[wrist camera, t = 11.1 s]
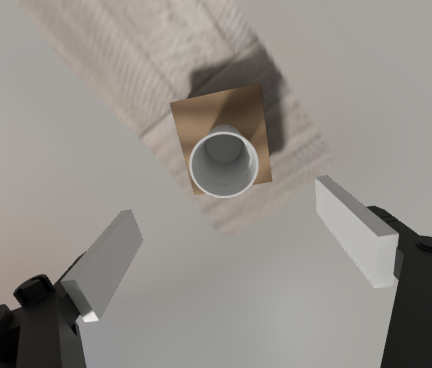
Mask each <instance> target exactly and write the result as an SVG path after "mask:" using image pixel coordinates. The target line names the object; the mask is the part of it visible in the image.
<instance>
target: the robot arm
mask: <svg viewBox="0 0 432 368" xmlns="http://www.w3.org/2000/svg"><path fill="white" fill-rule="evenodd" d="M315 184H316V204H317V214H318V215H319V216H320V218H321V219H322V220H323V222H324V223H325V224H326V226H327V227H328V228H329V230H330V231H331V232H332V233H333V235H334V236H335V237H336V239H337V240H338V241H339V243H340V244H341V245H342V247H343V248H344V249H345V251H346V252H347V253H348V254H349V256H350V257H351V258H352V260H353V261H354V262H355V264H356V265H357V266H358V268H359V269H360V270H361V272H362V273H363V274H364V275H365V277H366V278H367V279H368V281H369V282H370V283H371V285H372V286H373V287H374V288H381V287H391V286H393V282H394V276H395V277H396V278H397V279H398V280H399V282H398V286H397V291H396V296H395V301H394V306H393V310H392V315H391V320H390V324H389V329H388V335H387V339H386V343H385V348H384V353H383V358H382V362H381V368H432V237H429V236H420V235H418V234H417V233H415V232H414V231H413V230H411V229H410V228H409V227H407V226H406V225H405V224H403V223H401V221H398V219H396V218H395V217H394V216H392V215H391V214H390V213H388V212H387V211H385V210H384V209H381V208H378V207H376V206H369V207H365V206H364V205H363V204H362V203H360V202H359V201H358V200H357V199H355V198H354V197H353V196H352V195H350V194H349V193H348V192H347V191H346V190H344V189H343V188H342V187H341V186H339V185H338V184H337V183H336V182H334V181H333V180H332V179H331V178H330V177H329V176H327V175H326V176H320V177H315ZM142 242H143V238H142V235H141V233H140V230H139V228H138V225H137V223H136V220H135V218H134V215H133V213H132V210H131V209H130V210H125V211H121V212H120V213H119V215H118V216H117V217H116V218H115V219H114V220H113V221H112V223H111V224H110V225H109V226H108V227H107V228H106V229H105V231H104V232H103V233H102V234H101V235H100V236H99V238H98V239H97V240H96V241H95V242H94V243H93V244H92V246H91V247H90V248H89V249H88V251H86V252H85V253H84V254H82V255H81V256H79V257H78V258H77V260H75V262H74V263H73V265H71V266H70V267H69V268H68V270H67V271H66V272H65V273H64V274H63V275H62V276H61V278H60V279H59V280H58V281H57V282H56V283H55V284H54V285H52V283H51V282H50V280H49V279H48V277H47V276H46V275H44V274H42V275H37V276H35V277H32V278H31V279H29V280H27V281H26V282H24V283H22V284H21V285H20V286H19V287H18V288H17V289H16V290H15V292H14V293H13V295H14V296H15V297H16V299H17V300H18V302H19V303H20V305H21V306H22V307H20V308H17V309H15V310H12V311H10V309H9V308H8V307H7V306H6V305H5V304H2V305H0V368H86V363H85V357H84V352H83V347H82V342H81V336H80V331H79V326H78V324H77V323H76V319H77V318H78V316H79V315H81V316H82V318H83V319H84V321H85V322H92V321H99V320H100V318H101V316H102V314H103V312H104V311H105V309H106V307H107V305H108V303H109V302H110V300H111V298H112V296H113V294H114V292H115V291H116V289H117V287H118V285H119V283H120V282H121V280H122V278H123V276H124V274H125V272H126V271H127V269H128V267H129V265H130V263H131V262H132V260H133V258H134V256H135V254H136V252H137V251H138V249H139V247H140V245H141V243H142Z"/></svg>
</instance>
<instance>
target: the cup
mask: <svg viewBox="0 0 432 368" xmlns="http://www.w3.org/2000/svg"><path fill="white" fill-rule="evenodd" d="M189 169H190V173H191V176H192V179H193V181H194V182H195V184H196V185H197V186H198V187H199V188H200V189H201V190H202V191H204V192H205V193H207V194H209V195H211V196H214V197H219V198H229V197H234V196H237V195H239V194H241V193H243V192H244V191H246V190H247V189H248V188H249V187H250V186H251V185H252V184H253V182H254V181H255V179H256V176H257V174H258V169H259V160H258V155H257V152H256V150H255V148H254V147H253V145H252V144H251V143H250V142H249V141H248V140H247V139H246V138H245V137H243V136H242V135H241V133H240V132H239V131H238V130H237V129H236V128H235V127H233V126H230V125H218V126H216V127H214V128H213V129H211V130H210V131H209V133H208V134H207V135H206V136H205V137H204V138H202V139H201V140H200V141H199V142H198V143H197V144H196V146H195V147H194V149H193V151H192V153H191V156H190V161H189Z"/></svg>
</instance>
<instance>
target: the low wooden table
mask: <svg viewBox="0 0 432 368" xmlns="http://www.w3.org/2000/svg"><path fill="white" fill-rule="evenodd" d="M170 106H171V110H172V113H173V117H174V121H175V125H176V128H177V132H178V136H179V139H180V143H181V147H182V151H183V154H184V158H185V162H186V166H187V169H188V173H189V177H190V181H191V184H192V188H193V192H194V195H198V194H203V193H205V192H204V191H202V190H201V189H200V188H199V187H198V186H197V185H196V184H195V182H194V181H193V179H192V176H191V173H190V169H189V161H190V156H191V153H192V151H193V149H194V147H195V146H196V144H197V143H198V142H199V141H200V140H201V139H202V138H204V137H205V136H206V135H207V134H208V133H209V131H210V130H211V129H213V128H214V127H216V126H218V125H230V126H233V127H235V128H236V129H237V130H238V131H239V132H240V133H241V135H242V136H243V137H245V138H246V139H247V140H248V141H249V142H250V143H251V144H252V145H253V147H254V148H255V150H256V152H257V155H258V160H259V169H258V174H257V176H256V179H255V181H254V182H253V184H252V185H255V184H260V183H266V182H272V175H271V167H270V158H269V150H268V142H267V134H266V126H265V118H264V110H263V101H262V93H261V85H260V83H256V84H251V85H247V86H243V87H238V88H234V89H229V90H225V91H220V92H216V93H212V94H207V95H203V96H198V97H194V98H189V99H185V100H180V101H176V102H172V103H170Z"/></svg>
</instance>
